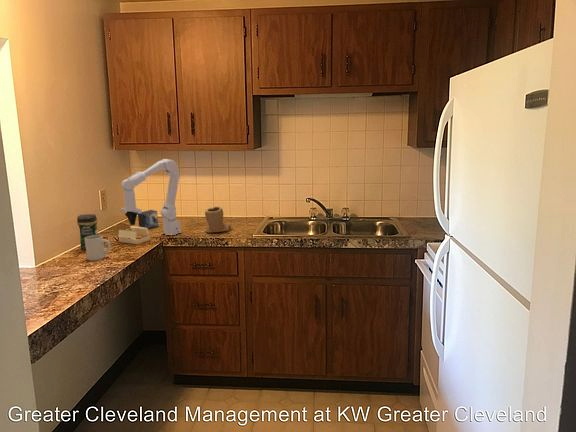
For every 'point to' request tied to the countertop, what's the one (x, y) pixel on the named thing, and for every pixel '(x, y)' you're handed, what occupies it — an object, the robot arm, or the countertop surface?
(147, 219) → the small box
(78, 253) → the countertop surface
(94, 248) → the mug
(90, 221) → the coffee jar
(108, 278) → the countertop surface
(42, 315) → the countertop surface
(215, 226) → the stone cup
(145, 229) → the right flap
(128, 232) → the left flap
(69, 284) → the countertop surface
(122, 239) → the cream shallow tray
